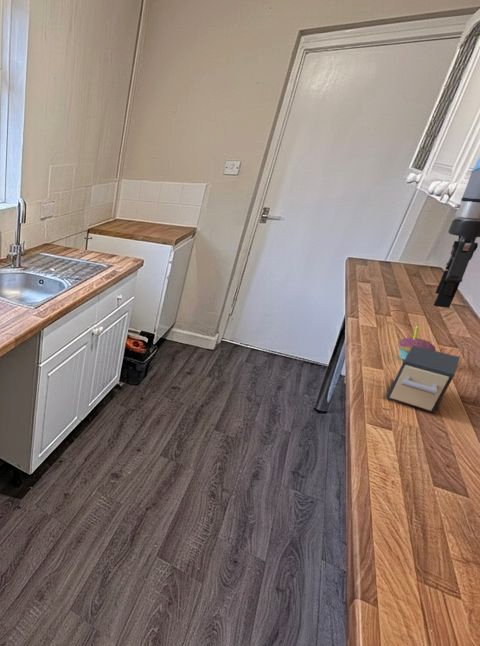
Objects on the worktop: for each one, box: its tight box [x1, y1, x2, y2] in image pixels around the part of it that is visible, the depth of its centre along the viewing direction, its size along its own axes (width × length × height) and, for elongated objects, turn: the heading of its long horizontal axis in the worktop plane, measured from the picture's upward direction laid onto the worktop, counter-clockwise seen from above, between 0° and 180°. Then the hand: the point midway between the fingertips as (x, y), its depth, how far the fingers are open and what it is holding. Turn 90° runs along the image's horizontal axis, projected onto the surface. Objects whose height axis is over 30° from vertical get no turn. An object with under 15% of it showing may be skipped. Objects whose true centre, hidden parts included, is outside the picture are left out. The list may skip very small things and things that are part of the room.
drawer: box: [390, 365, 449, 411], centre depth 109 cm, size 18×8×10 cm, turn 129°
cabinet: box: [386, 346, 461, 414], centre depth 112 cm, size 15×9×12 cm, turn 129°
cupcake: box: [396, 323, 437, 361], centre depth 131 cm, size 9×8×12 cm
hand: (441, 300), depth 110 cm, fingers open, 13 cm apart
